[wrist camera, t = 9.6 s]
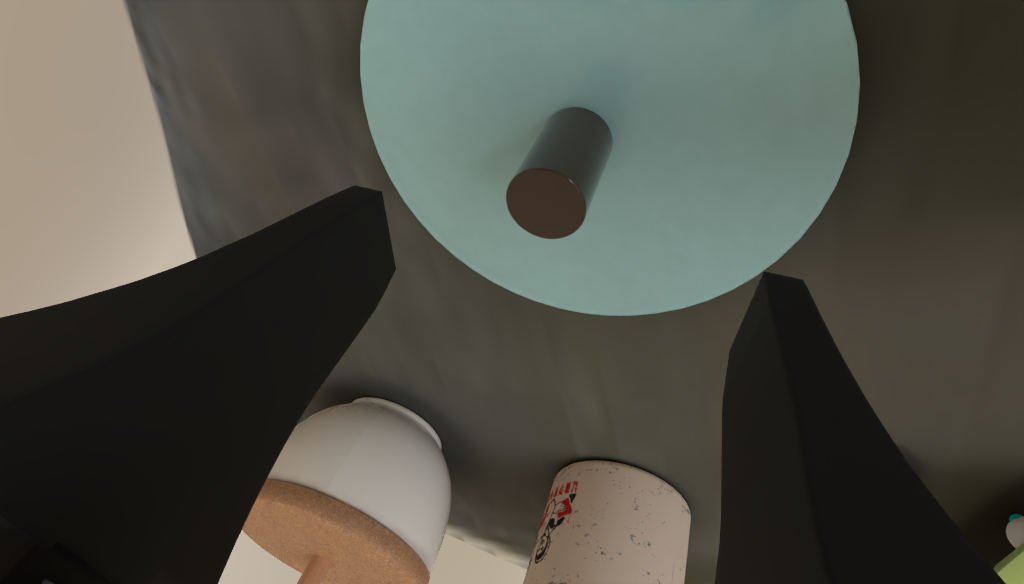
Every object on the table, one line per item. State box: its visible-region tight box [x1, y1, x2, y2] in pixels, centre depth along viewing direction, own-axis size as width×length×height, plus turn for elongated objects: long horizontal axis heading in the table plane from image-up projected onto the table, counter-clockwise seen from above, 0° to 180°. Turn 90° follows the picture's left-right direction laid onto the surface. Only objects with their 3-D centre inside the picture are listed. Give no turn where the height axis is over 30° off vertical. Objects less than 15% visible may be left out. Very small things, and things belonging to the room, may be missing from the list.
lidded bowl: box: [242, 397, 451, 584], centre depth 35 cm, size 13×13×11 cm
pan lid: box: [360, 0, 860, 316], centre depth 18 cm, size 16×16×5 cm
